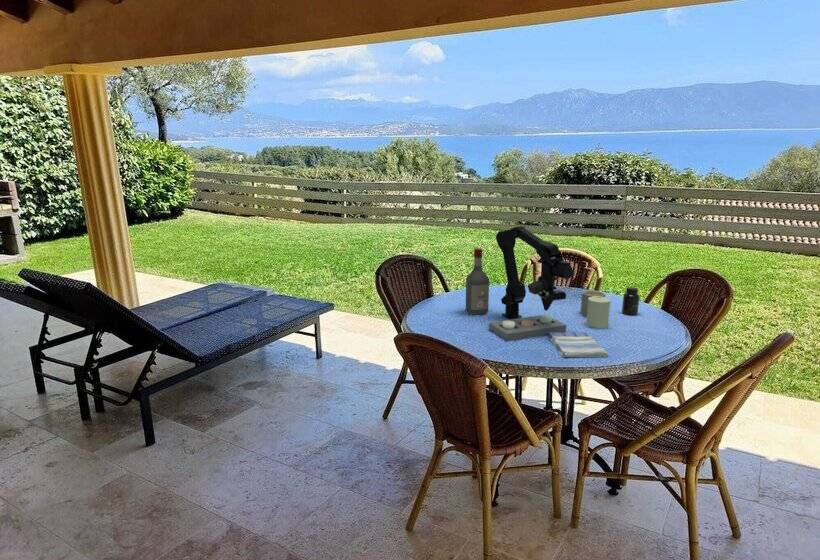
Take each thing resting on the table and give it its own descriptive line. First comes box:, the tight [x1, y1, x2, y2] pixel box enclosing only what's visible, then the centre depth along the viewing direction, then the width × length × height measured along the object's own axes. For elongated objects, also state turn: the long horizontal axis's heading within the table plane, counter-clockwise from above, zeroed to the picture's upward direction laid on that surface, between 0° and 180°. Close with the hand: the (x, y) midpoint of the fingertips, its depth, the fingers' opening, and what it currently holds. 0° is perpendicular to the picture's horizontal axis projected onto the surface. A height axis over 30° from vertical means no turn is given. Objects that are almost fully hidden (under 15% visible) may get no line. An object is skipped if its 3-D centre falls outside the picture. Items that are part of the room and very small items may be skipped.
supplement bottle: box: [621, 286, 640, 316], centre depth 241 cm, size 7×7×12 cm
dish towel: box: [547, 331, 609, 358], centre depth 204 cm, size 17×24×3 cm
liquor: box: [465, 248, 490, 316], centre depth 243 cm, size 9×9×30 cm
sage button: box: [540, 314, 553, 324], centre depth 224 cm, size 5×5×3 cm
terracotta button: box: [521, 320, 534, 327], centre depth 221 cm, size 5×5×3 cm
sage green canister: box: [585, 296, 612, 329], centre depth 227 cm, size 9×9×12 cm
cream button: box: [502, 319, 515, 330], centre depth 218 cm, size 5×5×3 cm
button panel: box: [488, 314, 567, 342], centre depth 221 cm, size 15×28×3 cm, turn 110°
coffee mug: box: [580, 289, 606, 318], centre depth 242 cm, size 13×10×10 cm
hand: (545, 310), depth 223 cm, fingers closed
